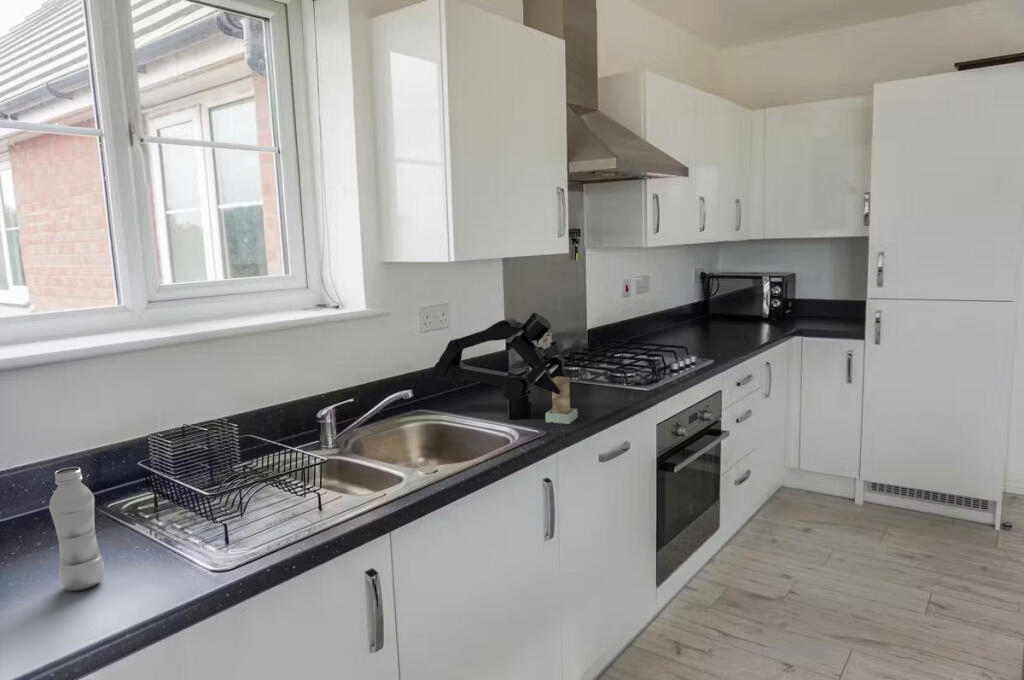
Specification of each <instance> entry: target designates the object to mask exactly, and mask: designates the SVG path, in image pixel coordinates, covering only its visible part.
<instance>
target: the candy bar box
mask: <svg viewBox="0 0 1024 680" xmlns="http://www.w3.org/2000/svg"><path fill="white" fill-rule="evenodd" d="M532 342H533V343H534V344H535V345H536V346H537V347H543V348H544V349H545V348H548V347H550V343H551V342H553V333H551V332H549V333H548V332H547V333H546V334H545V335H544V336H543V337H542V338H541V339H540V340H539V341H532ZM552 357H554V356H552ZM528 368H529V369H528V372H530V371H531V370H532V368H531V367H530V366H529V365H528Z"/></svg>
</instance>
